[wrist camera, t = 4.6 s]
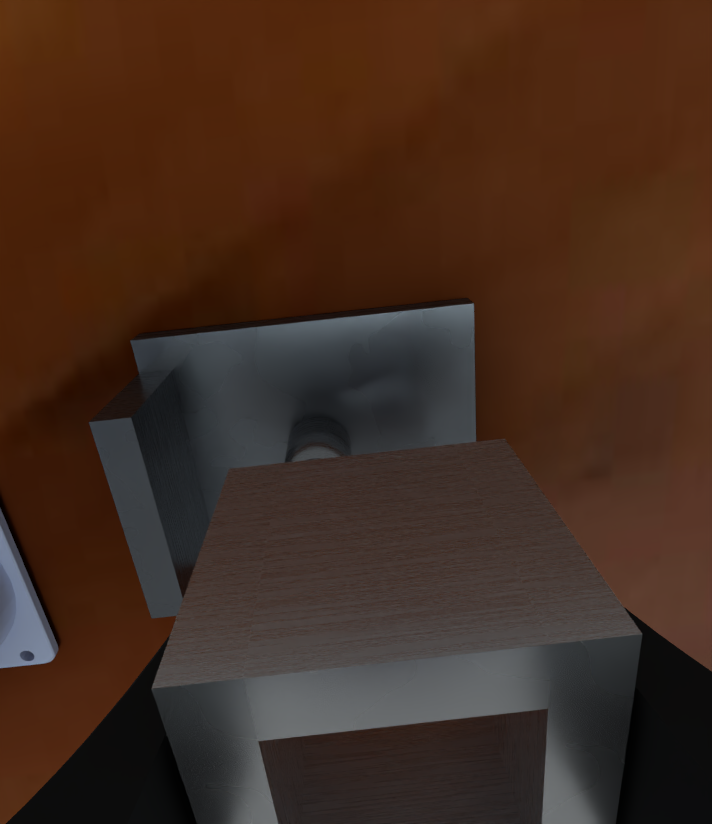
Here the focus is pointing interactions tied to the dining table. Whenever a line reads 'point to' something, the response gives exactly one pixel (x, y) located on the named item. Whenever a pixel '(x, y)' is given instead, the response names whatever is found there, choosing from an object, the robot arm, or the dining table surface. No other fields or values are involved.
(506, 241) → the dining table surface
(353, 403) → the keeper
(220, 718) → the hollow square tube
